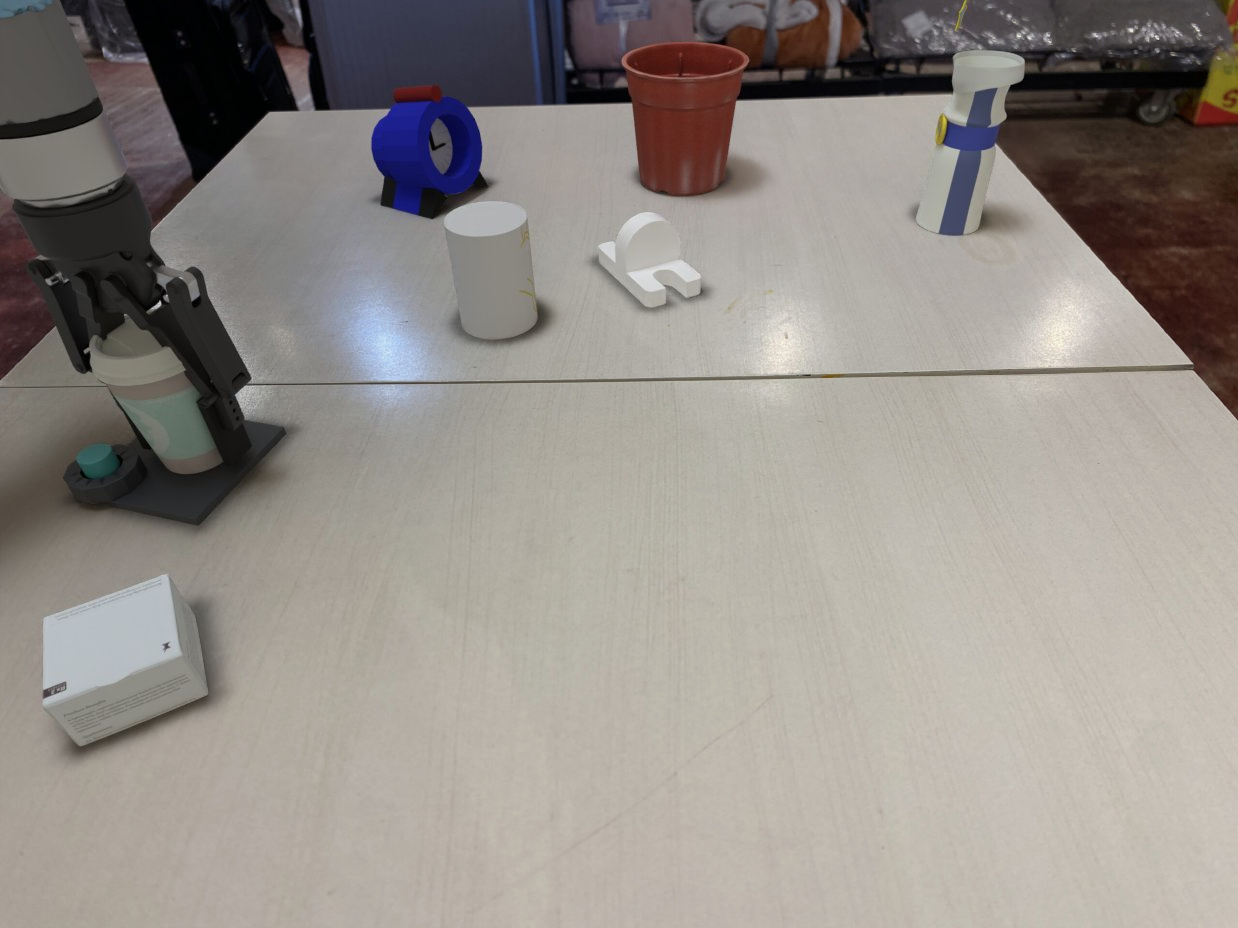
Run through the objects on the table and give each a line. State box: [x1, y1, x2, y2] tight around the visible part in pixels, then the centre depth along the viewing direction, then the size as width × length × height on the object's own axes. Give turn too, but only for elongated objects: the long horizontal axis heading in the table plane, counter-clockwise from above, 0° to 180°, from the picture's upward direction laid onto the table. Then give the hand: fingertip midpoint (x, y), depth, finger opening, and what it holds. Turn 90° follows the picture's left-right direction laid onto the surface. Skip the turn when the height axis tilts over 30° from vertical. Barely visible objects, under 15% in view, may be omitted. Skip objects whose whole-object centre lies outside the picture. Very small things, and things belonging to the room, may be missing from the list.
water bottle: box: [915, 0, 1026, 236], centre depth 94 cm, size 8×9×25 cm
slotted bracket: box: [597, 211, 702, 308], centre depth 90 cm, size 13×7×8 cm, turn 27°
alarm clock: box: [370, 84, 490, 220], centre depth 108 cm, size 12×12×15 cm
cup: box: [443, 200, 539, 340], centre depth 83 cm, size 8×8×12 cm
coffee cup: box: [88, 308, 223, 474], centre depth 65 cm, size 8×9×12 cm
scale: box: [62, 419, 287, 526], centre depth 68 cm, size 13×13×3 cm
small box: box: [41, 573, 209, 747], centre depth 52 cm, size 8×8×5 cm
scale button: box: [75, 442, 120, 479], centre depth 65 cm, size 3×3×2 cm
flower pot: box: [621, 41, 750, 197], centre depth 110 cm, size 16×16×16 cm
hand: (197, 447), depth 69 cm, fingers closed on coffee cup, 8 cm apart
